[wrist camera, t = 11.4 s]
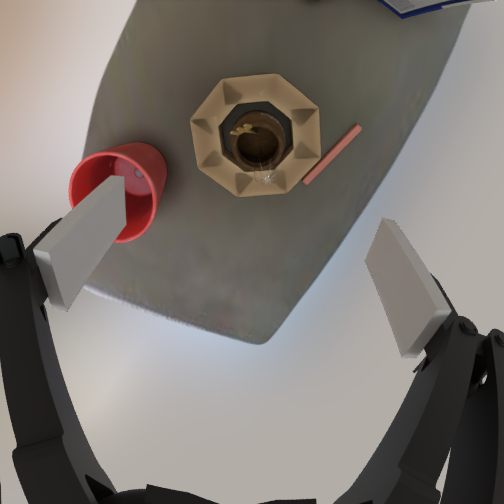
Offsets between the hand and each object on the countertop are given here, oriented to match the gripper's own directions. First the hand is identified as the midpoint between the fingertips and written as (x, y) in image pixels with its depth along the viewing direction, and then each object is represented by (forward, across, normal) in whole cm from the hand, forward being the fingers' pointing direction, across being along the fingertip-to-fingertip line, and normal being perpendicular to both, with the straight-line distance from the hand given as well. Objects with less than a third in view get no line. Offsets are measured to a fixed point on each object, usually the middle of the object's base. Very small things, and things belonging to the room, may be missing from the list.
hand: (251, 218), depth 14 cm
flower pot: (+23, -14, -7) cm, 28 cm away
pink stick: (+23, +9, -1) cm, 25 cm away
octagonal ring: (+23, 0, 0) cm, 23 cm away
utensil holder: (+23, 0, 0) cm, 23 cm away
